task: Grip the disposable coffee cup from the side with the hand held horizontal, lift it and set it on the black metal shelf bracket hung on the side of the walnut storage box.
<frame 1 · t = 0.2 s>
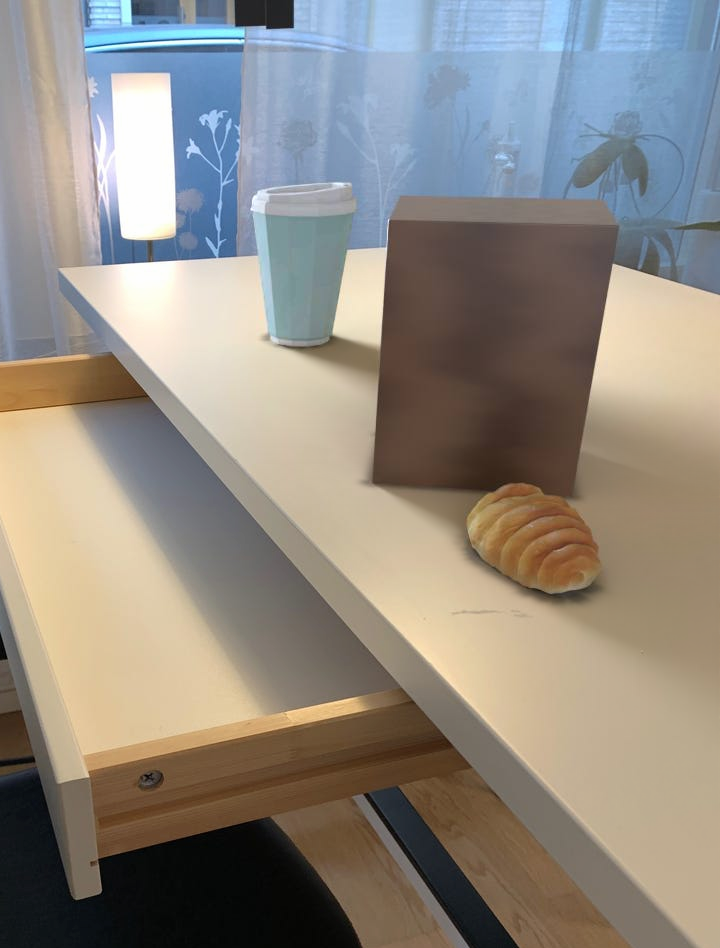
hand: (266, 28, 96), 28 cm above the table, tool pointing down, fingers open, 13 cm apart
disposable coffee cup: (300, 340, 107), on the table
storage box: (471, 465, 77), on the table
pastry: (532, 562, 64), on the table
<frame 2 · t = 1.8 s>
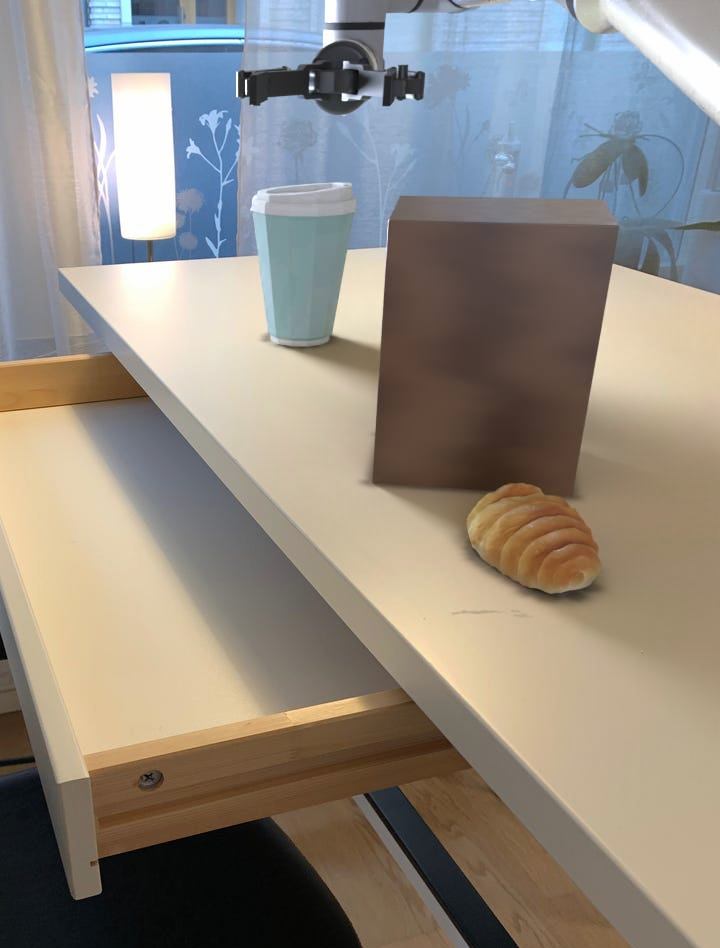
hand: (319, 90, 102), 22 cm above the table, tool horizontal, fingers open, 13 cm apart
nothing on the table moved.
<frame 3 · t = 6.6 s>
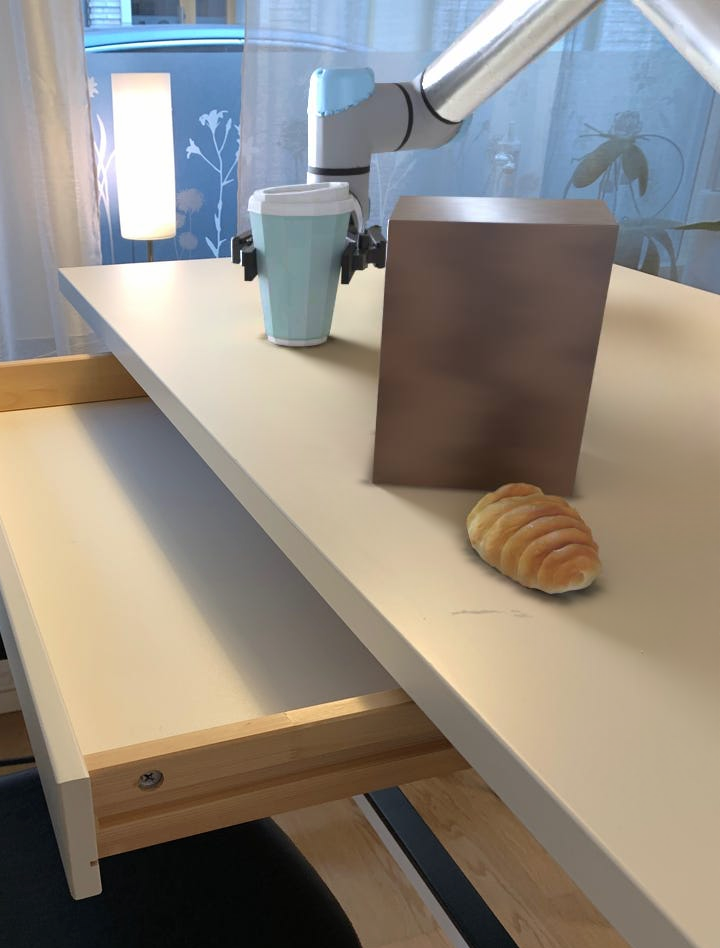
hand: (296, 268, 98), 8 cm above the table, tool horizontal, fingers open, 9 cm apart
disposable coffee cup: (298, 340, 107), on the table, touching gripper
everything else where it was.
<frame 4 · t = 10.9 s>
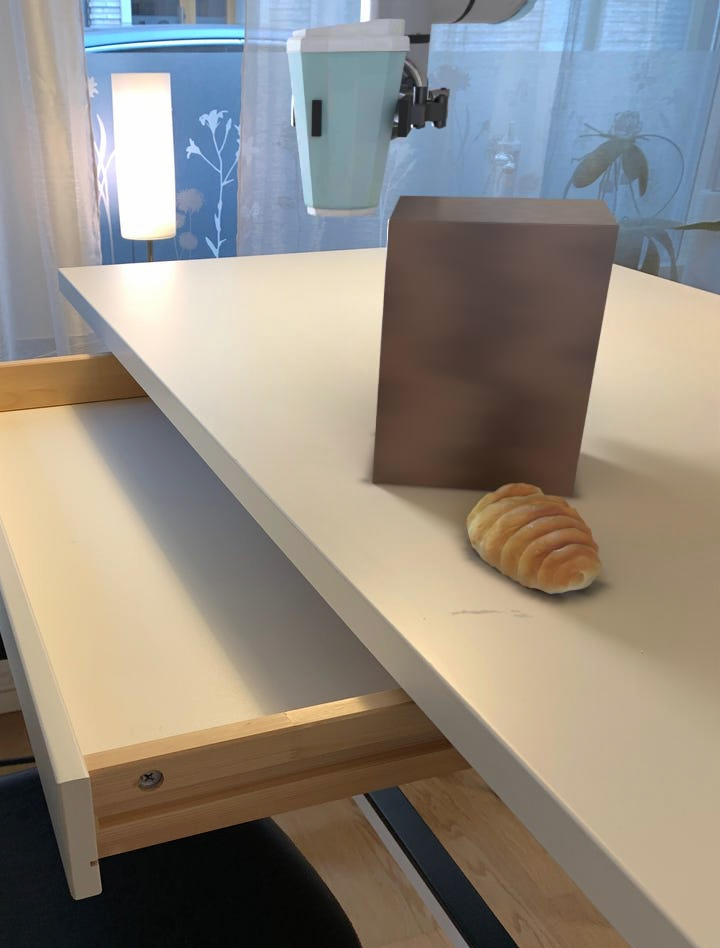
hand: (359, 118, 84), 22 cm above the table, tool horizontal
disposable coffee cup: (342, 215, 92), point 13 cm above the table, touching gripper, hand
everything else where it was.
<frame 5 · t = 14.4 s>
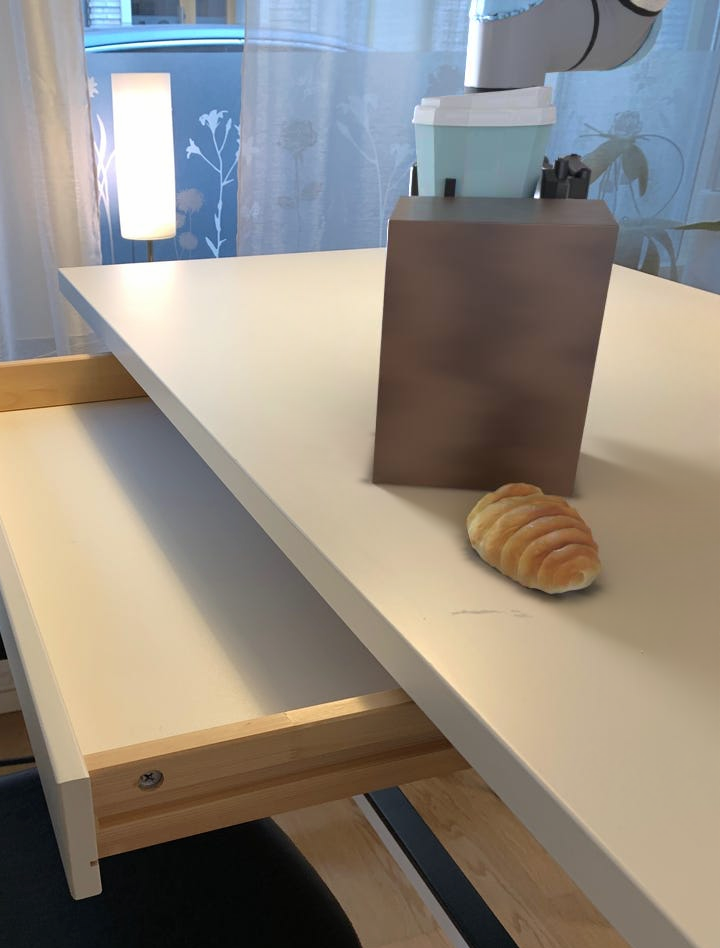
hand: (498, 200, 73), 17 cm above the table, tool horizontal
disposable coffee cup: (465, 300, 82), point 9 cm above the table, touching gripper, hand
everything else where it was.
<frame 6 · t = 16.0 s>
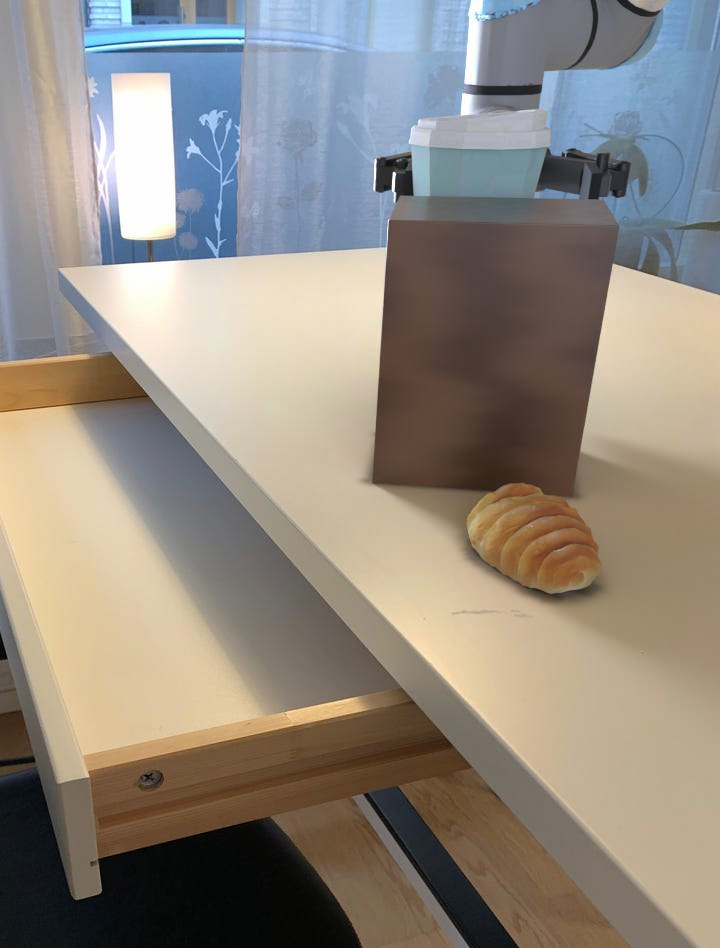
hand: (500, 191, 76), 18 cm above the table, tool horizontal, fingers open, 13 cm apart
disposable coffee cup: (459, 318, 83), point 8 cm above the table, touching storage box
everything else where it was.
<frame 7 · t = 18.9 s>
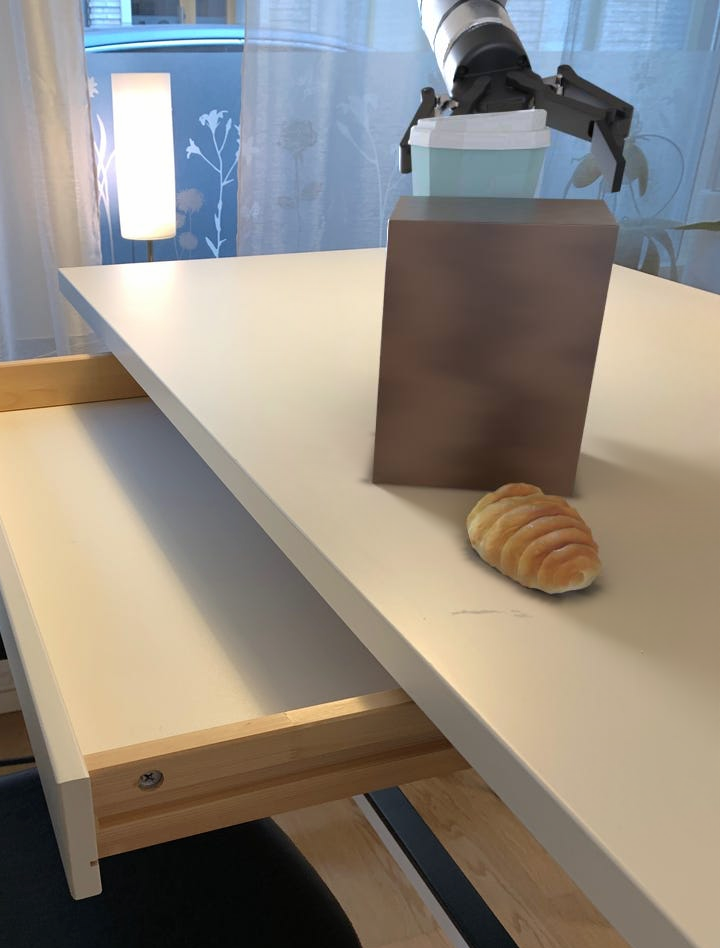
hand: (536, 191, 85), 16 cm above the table, tool tilted 65°, fingers open, 13 cm apart
nothing on the table moved.
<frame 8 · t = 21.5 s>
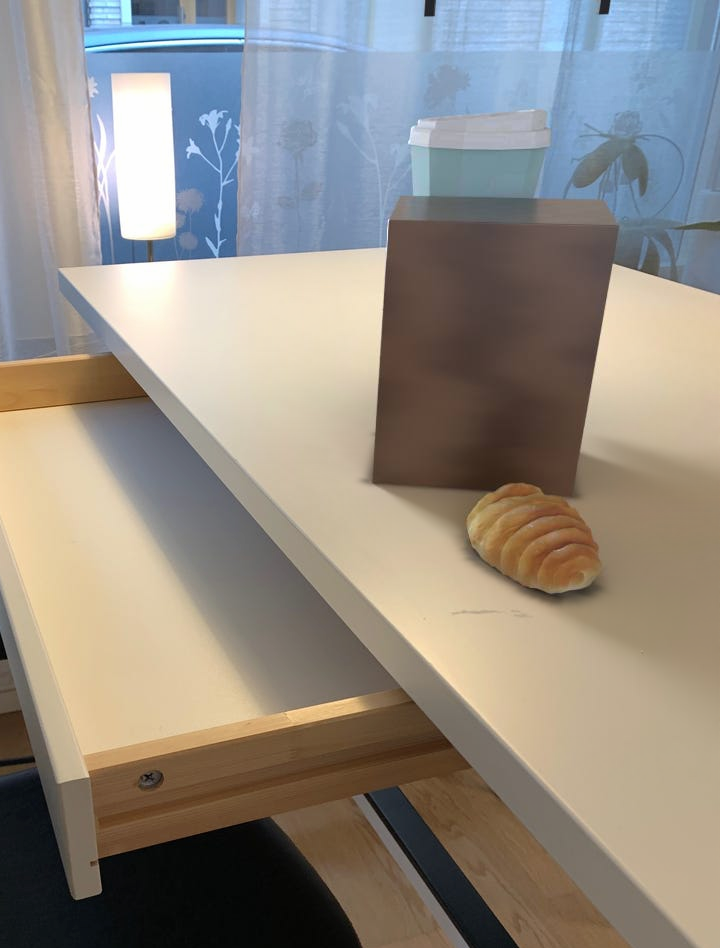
hand: (514, 16, 82), 29 cm above the table, tool pointing down, fingers open, 13 cm apart
nothing on the table moved.
at the end: disposable coffee cup inside the target area on the storage box (1.9 cm from its centre), point 7.8 cm above the storage box's base; disposable coffee cup tilted 0°; the gripper is holding nothing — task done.
